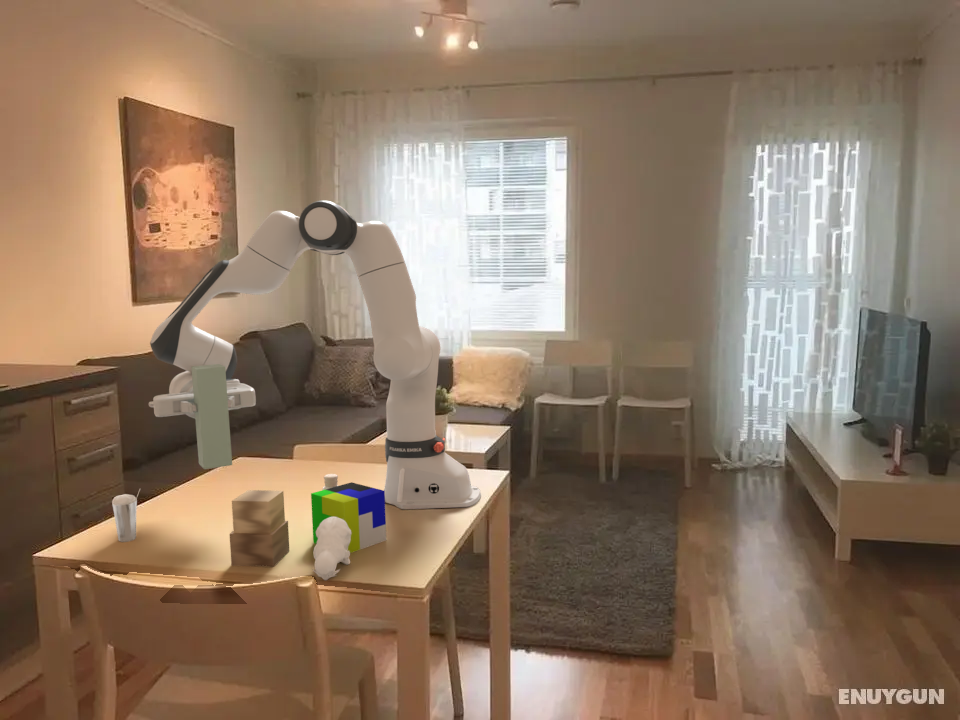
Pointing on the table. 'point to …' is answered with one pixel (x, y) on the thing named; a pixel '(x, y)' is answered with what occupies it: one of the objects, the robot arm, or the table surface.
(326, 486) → the pepper shaker
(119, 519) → the milkshake
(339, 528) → the white animal figurine
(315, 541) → the puzzle toy
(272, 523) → the tower top
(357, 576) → the table surface
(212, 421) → the pillar
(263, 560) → the tower bottom
